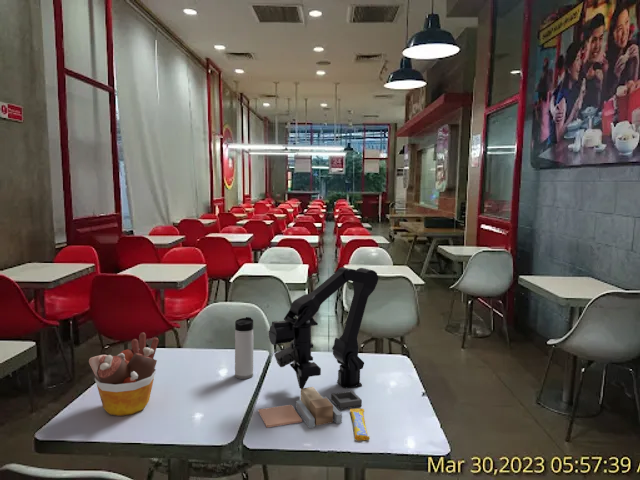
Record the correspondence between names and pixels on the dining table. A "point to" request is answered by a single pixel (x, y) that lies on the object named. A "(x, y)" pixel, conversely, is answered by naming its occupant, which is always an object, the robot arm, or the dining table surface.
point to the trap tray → (346, 400)
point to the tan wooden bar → (309, 396)
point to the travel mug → (244, 348)
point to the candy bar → (359, 424)
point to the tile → (279, 415)
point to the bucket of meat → (126, 377)
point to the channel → (309, 418)
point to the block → (321, 411)
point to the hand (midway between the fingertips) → (301, 388)
